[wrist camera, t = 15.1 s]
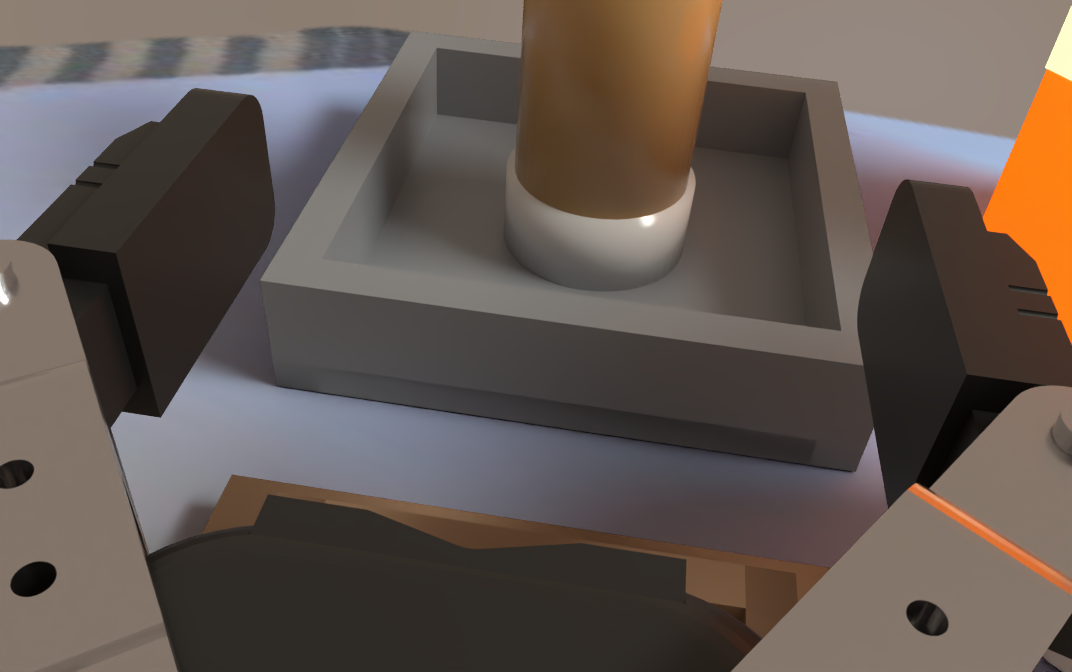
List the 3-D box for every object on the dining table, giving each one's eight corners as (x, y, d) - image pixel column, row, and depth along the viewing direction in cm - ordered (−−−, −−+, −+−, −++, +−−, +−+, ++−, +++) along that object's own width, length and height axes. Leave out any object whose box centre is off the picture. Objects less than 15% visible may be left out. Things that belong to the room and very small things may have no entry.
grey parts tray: (276, 385, 22) (259, 280, 20) (414, 118, 32) (411, 30, 30) (855, 472, 21) (897, 370, 19) (812, 169, 31) (837, 81, 29)
